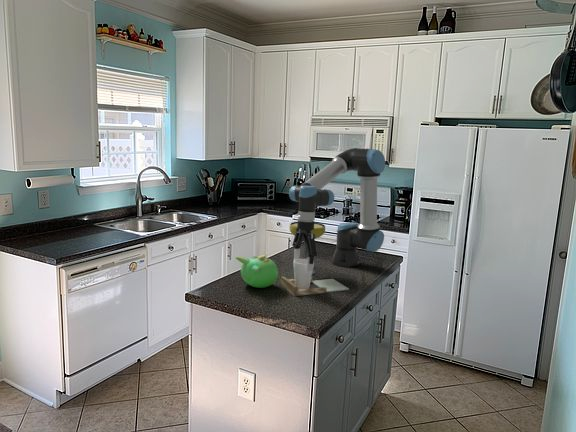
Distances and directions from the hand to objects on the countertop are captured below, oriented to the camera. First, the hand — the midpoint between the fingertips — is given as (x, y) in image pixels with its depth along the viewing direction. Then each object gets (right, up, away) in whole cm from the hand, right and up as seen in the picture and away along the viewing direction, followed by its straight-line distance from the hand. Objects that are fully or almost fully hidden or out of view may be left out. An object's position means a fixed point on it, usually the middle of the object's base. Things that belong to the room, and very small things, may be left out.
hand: (302, 266), depth 202 cm
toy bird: (-21, -10, +2) cm, 23 cm away
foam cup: (0, -11, +2) cm, 11 cm away
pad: (+13, -10, +8) cm, 18 cm away
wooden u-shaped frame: (0, -10, +2) cm, 11 cm away
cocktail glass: (+2, -6, +27) cm, 28 cm away
